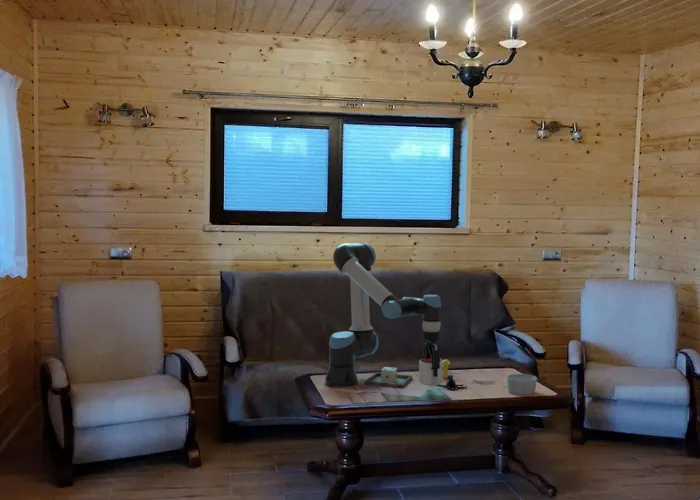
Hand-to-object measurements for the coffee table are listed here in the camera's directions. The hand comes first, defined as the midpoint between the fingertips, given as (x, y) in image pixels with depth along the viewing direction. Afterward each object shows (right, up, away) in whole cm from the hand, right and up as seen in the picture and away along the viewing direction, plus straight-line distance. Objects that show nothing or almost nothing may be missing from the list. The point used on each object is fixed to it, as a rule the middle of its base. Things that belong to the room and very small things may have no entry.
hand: (430, 380), depth 313 cm
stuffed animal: (+10, -6, +14) cm, 19 cm away
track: (-14, -6, -2) cm, 15 cm away
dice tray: (-17, -5, +21) cm, 28 cm away
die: (-17, -4, +21) cm, 27 cm away
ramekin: (+42, -7, +8) cm, 43 cm away
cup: (0, -1, 0) cm, 1 cm away
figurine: (+13, -5, +32) cm, 35 cm away
